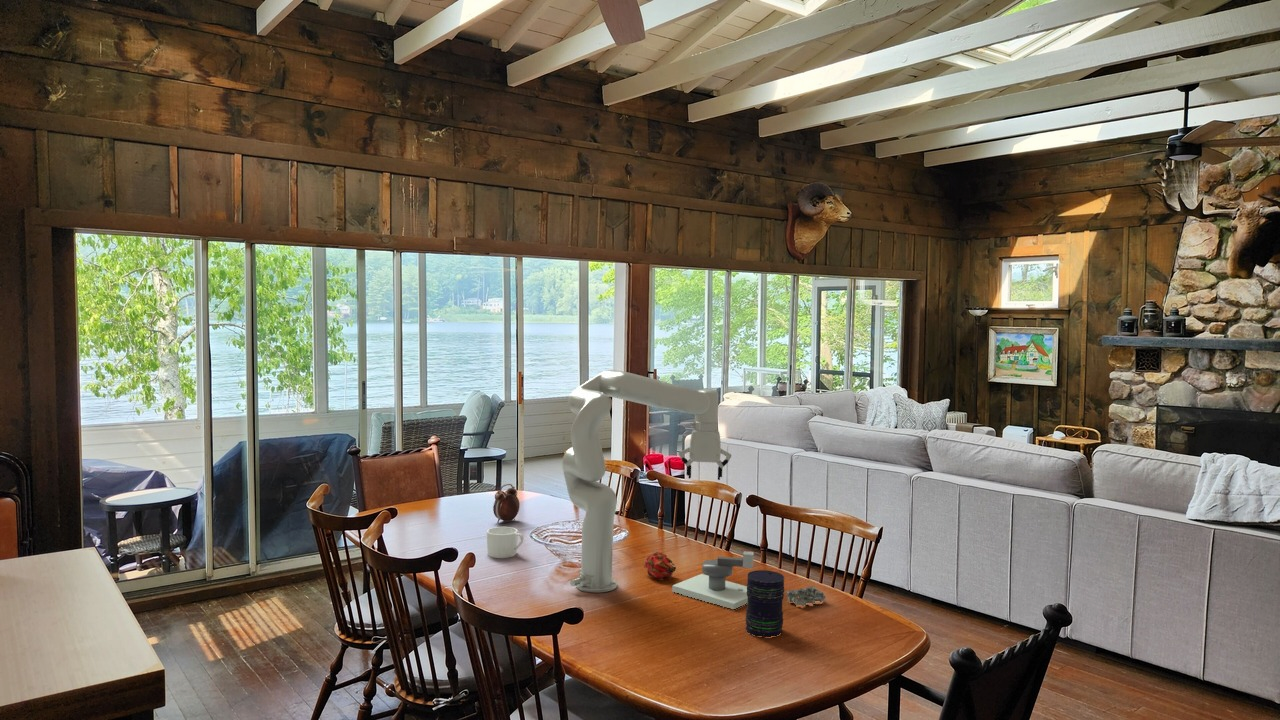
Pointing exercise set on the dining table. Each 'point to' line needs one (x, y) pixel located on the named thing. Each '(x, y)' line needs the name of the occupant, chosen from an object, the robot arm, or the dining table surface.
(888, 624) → the dining table surface
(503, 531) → the mug
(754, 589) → the storage jar
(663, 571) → the dragon fruit
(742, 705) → the dining table surface
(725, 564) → the grey lever knob
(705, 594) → the base
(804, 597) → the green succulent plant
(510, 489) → the alarm clock
